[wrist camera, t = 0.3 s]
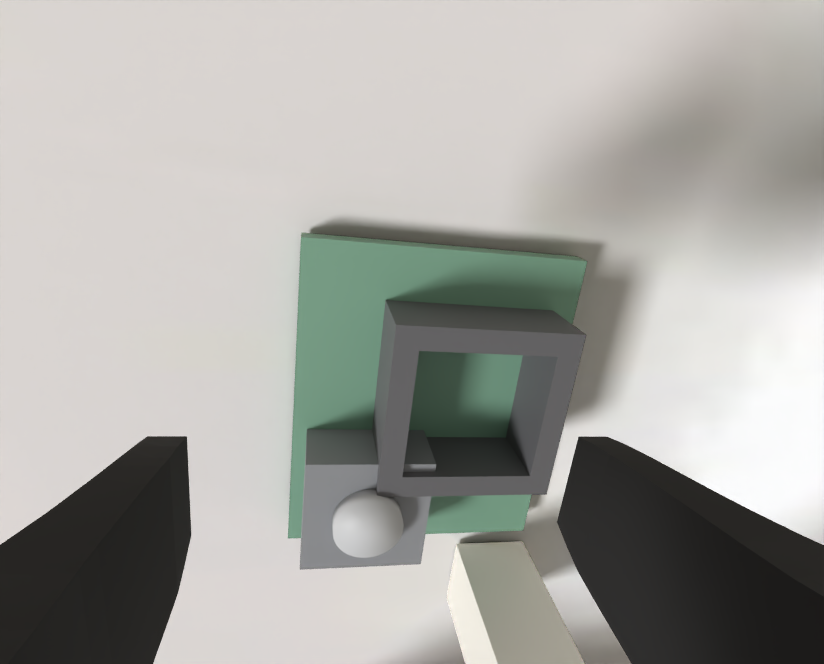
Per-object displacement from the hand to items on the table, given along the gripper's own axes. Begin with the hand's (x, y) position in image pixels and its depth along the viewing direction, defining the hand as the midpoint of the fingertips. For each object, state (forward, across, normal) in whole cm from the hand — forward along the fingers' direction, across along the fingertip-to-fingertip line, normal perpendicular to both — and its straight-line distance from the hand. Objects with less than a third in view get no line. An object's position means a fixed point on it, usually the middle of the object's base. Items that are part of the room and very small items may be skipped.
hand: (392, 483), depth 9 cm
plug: (+10, -7, +12) cm, 17 cm away
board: (+10, -3, +3) cm, 11 cm away
